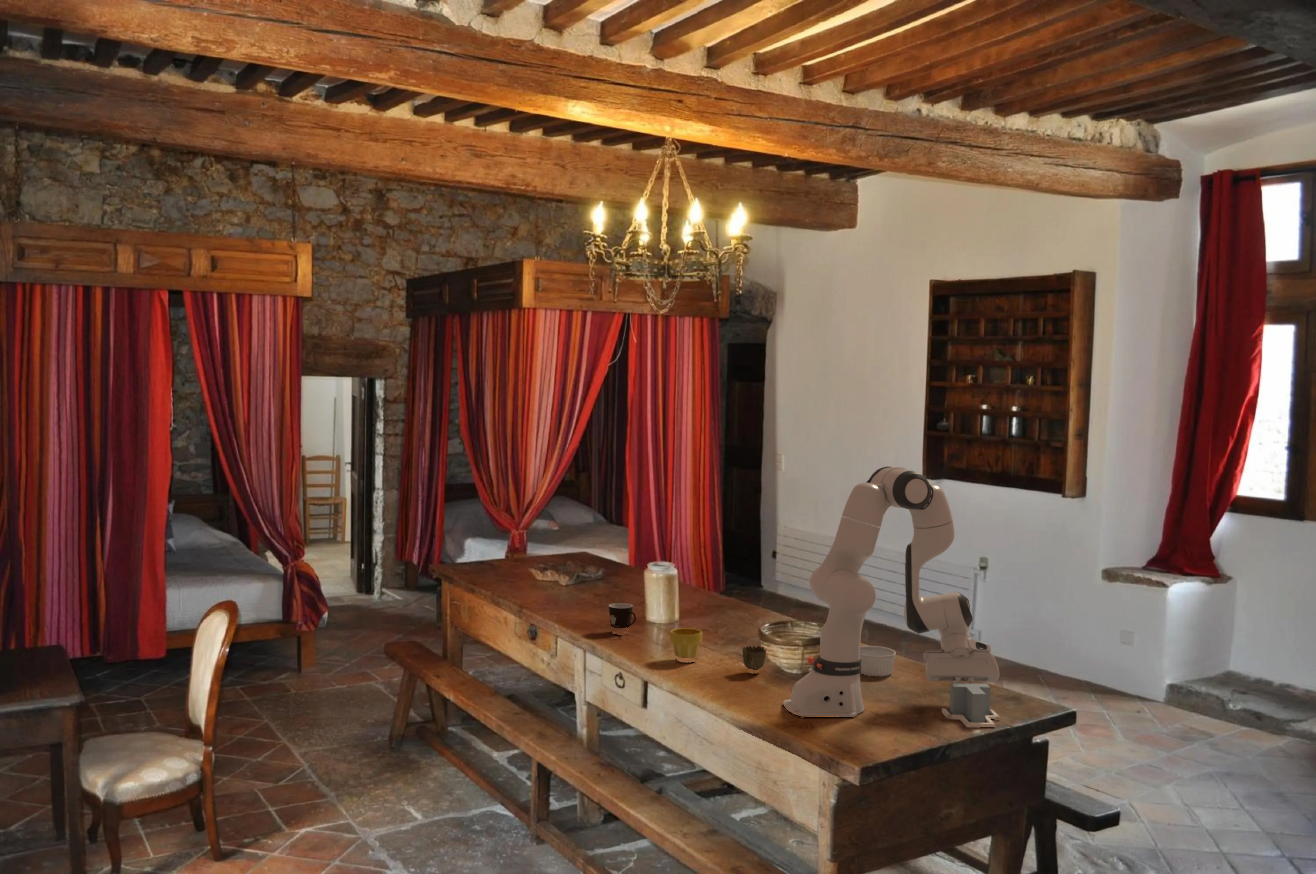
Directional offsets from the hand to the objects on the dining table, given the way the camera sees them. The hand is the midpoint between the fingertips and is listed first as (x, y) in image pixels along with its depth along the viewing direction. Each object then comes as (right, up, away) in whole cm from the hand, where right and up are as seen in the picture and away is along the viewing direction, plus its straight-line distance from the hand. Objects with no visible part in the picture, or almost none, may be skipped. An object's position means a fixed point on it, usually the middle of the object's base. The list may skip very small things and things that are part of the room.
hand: (966, 693), depth 299 cm
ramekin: (-18, -3, +39) cm, 43 cm away
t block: (0, -5, -5) cm, 7 cm away
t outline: (0, -5, -7) cm, 9 cm away
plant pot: (-77, -1, +48) cm, 91 cm away
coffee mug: (-99, +1, +83) cm, 129 cm away
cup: (-56, -2, +35) cm, 66 cm away
